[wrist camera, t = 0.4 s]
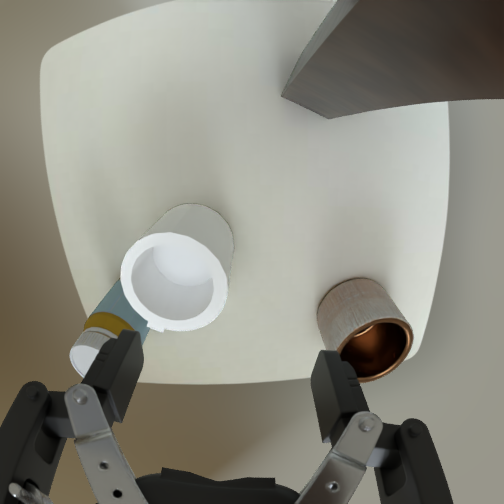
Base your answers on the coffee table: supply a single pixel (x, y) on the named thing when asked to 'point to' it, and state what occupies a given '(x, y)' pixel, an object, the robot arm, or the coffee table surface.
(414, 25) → the stand
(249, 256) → the coffee table surface
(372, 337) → the planter
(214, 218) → the mug
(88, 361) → the bottle
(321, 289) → the coffee table surface
